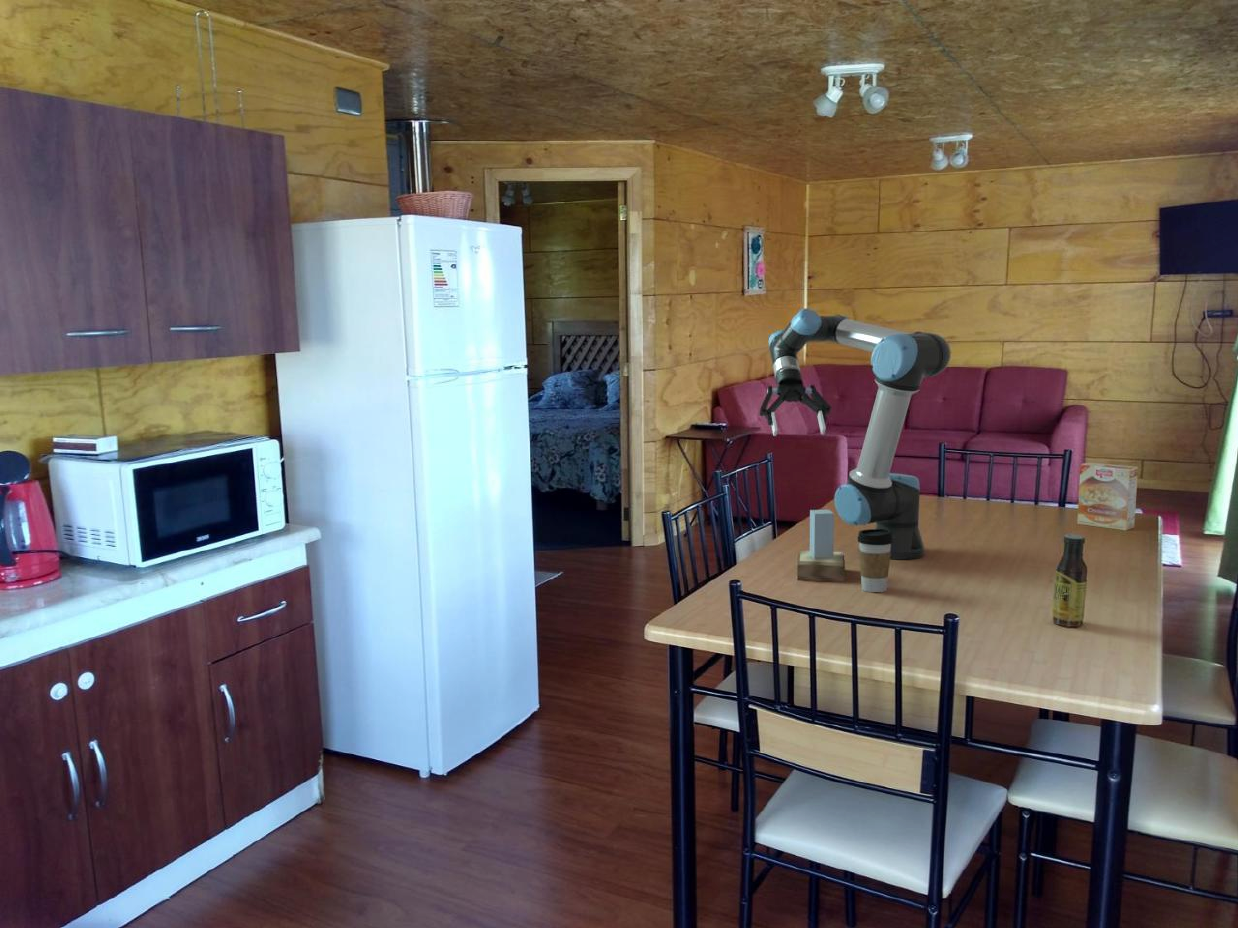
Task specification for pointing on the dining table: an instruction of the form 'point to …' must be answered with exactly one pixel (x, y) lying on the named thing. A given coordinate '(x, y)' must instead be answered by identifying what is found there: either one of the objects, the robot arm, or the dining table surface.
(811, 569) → the pedestal
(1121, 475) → the coffeecake box
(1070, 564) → the sauce bottle
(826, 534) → the block
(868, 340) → the robot arm
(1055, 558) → the dining table surface
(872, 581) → the coffee cup
